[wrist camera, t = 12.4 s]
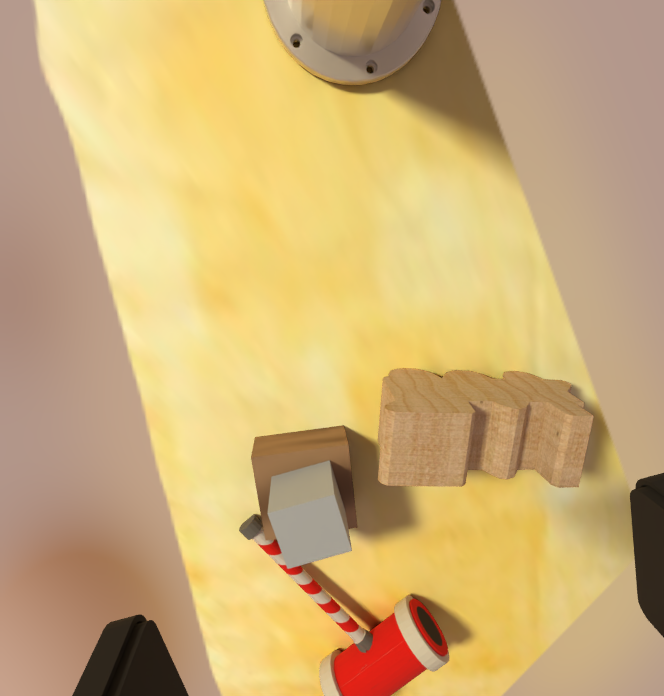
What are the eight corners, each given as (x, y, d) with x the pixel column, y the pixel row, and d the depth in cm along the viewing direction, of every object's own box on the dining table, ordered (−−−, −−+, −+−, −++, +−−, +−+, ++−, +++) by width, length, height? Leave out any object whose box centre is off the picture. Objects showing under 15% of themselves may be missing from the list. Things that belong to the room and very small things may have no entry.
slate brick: (271, 476, 37) (267, 513, 32) (329, 460, 37) (334, 494, 32) (289, 526, 39) (287, 568, 34) (345, 510, 39) (351, 550, 34)
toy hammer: (202, 552, 43) (186, 606, 37) (292, 477, 42) (292, 520, 36) (354, 679, 49) (363, 744, 43) (439, 616, 48) (460, 674, 41)
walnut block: (255, 435, 41) (251, 457, 37) (343, 424, 41) (348, 444, 37) (268, 512, 43) (265, 540, 39) (351, 500, 43) (357, 527, 39)
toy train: (539, 428, 42) (611, 487, 33) (360, 425, 41) (380, 487, 31) (549, 371, 41) (628, 416, 31) (364, 367, 39) (386, 412, 30)
